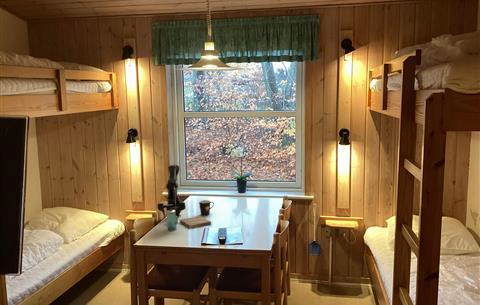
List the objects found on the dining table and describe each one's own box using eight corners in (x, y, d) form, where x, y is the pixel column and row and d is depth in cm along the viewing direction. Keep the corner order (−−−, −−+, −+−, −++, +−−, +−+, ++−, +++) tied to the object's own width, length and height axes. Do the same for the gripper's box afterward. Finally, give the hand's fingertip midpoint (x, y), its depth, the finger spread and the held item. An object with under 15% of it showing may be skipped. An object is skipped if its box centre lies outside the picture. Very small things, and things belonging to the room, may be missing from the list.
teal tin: (166, 229, 306) (165, 210, 305) (174, 227, 310) (173, 209, 308) (169, 231, 301) (168, 212, 299) (178, 229, 304) (177, 211, 302)
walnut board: (180, 222, 322) (180, 219, 322) (200, 218, 330) (200, 215, 329) (189, 228, 306) (189, 225, 306) (211, 224, 314) (211, 221, 314)
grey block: (168, 223, 321) (168, 216, 321) (175, 221, 324) (174, 215, 323) (170, 224, 317) (170, 217, 316) (177, 223, 319) (177, 216, 319)
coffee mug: (200, 216, 336) (199, 203, 334) (198, 213, 344) (198, 200, 343) (215, 215, 338) (215, 202, 336) (214, 212, 346) (213, 199, 345)
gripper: (186, 202, 321) (186, 222, 311) (159, 204, 320) (158, 223, 310) (184, 194, 312) (184, 214, 302) (157, 195, 311) (156, 215, 301)
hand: (171, 217), depth 304 cm, fingers open, 9 cm apart
